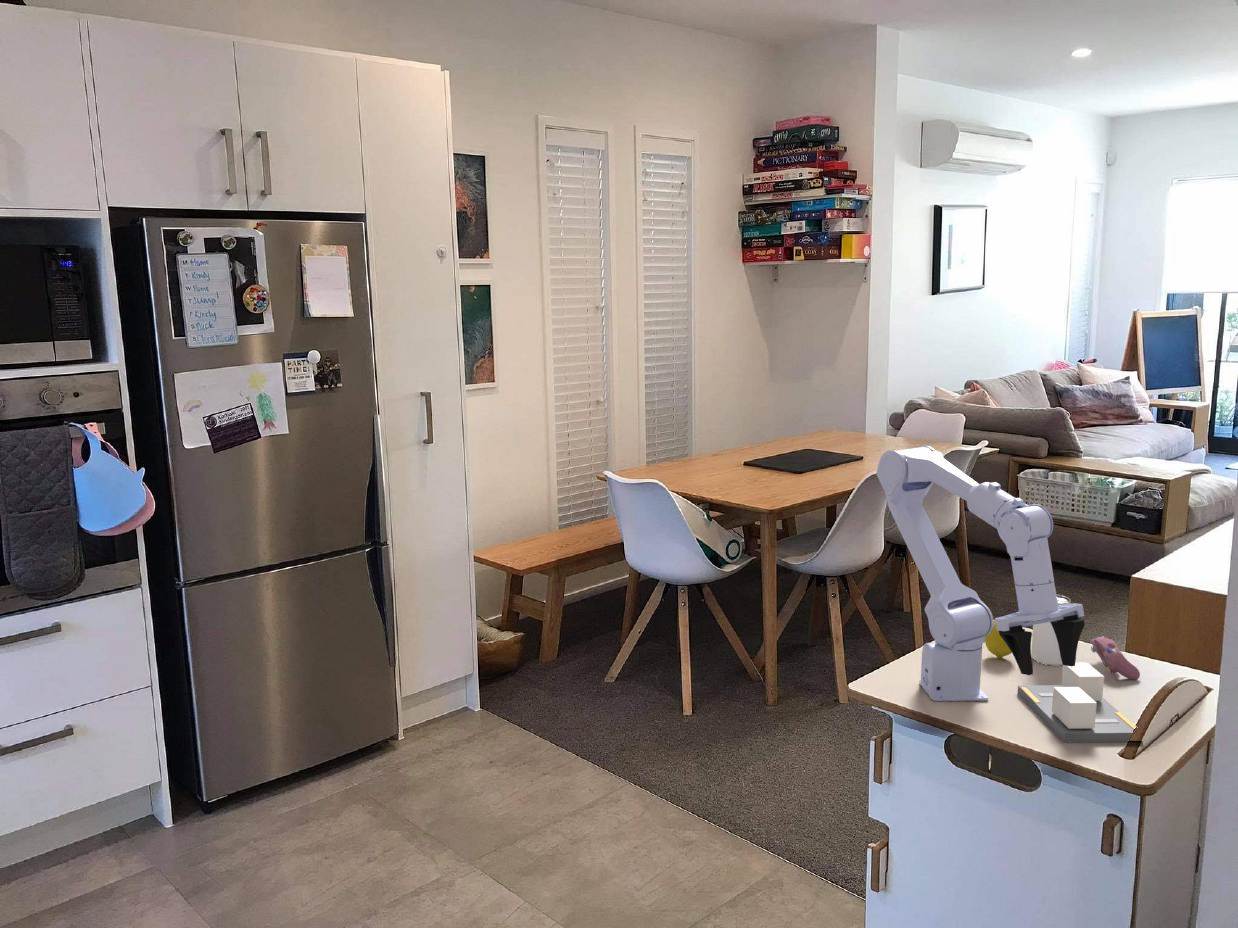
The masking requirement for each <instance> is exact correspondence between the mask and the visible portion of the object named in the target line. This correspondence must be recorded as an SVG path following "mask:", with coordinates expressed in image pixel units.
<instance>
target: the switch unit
mask: <svg viewBox="0 0 1238 928" xmlns="http://www.w3.org/2000/svg"><path fill="white" fill-rule="evenodd" d="M1054 687H1062V684H1059V685H1058V684H1053V685H1052V684H1050V685H1049V684H1048V685H1045V684H1044V685H1042V684H1041V685H1017V695H1018V696H1019V697H1020V698H1021V699H1022V700H1023V701H1024V702H1025V703H1026V704H1027V706H1028V707H1029V708H1030V709H1031V710H1032V711H1033V712H1034V713H1035V714H1036V715H1037V716H1038V717H1039V718H1040V719H1041V720H1042V721H1043V722H1044V723H1045V724H1046V726H1048V728H1050V729H1051V730H1052V732H1054V733H1055V735H1056V736H1057V737H1058V738H1060V740H1061V741H1062V742H1063V743H1129V742H1128V740H1129V739H1130V737H1131V735H1132V733H1133V729H1135V728H1136V727H1137V725H1135V724H1134V723H1133V722H1132V721H1130V720H1129V719H1128V718H1127V717H1126V716H1125V715H1123V713H1121V712H1120V711H1119V710H1117V708H1115V706H1113V705H1112V704H1111V703H1110V702H1108V701H1107V700H1106V698H1104V697H1103V696H1102V701H1095V702H1096V703H1097V706H1096V718H1095V728H1076V729H1069V728H1068V727H1067V726H1066V725H1065V724H1064V723H1063V722H1062V721H1061V720H1060V719H1059V718H1058V717H1057V716H1056V715H1055V714H1054V713H1053V712H1052V702H1053V689H1054Z"/></svg>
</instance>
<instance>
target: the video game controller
mask: <svg viewBox="0 0 1238 928" xmlns="http://www.w3.org/2000/svg"><path fill="white" fill-rule="evenodd" d="M1090 642H1091V645H1092V646H1090V650H1091V652H1092V653H1094V654H1095V653H1096V654H1097V655H1098V657H1099V658H1100V660H1101V661H1102V664H1103V665H1104V666H1105V668H1107V671H1109V672H1110V673H1111V674H1112V675H1116V674H1117V673H1118V674H1119V675H1121V676H1122V677H1125V678H1126V679H1128V680H1133V681H1136V680H1138V679H1140V678H1141V677H1140V676H1141V673H1140V670H1139V669H1138V668H1137V667H1136V666H1135V665H1134V664H1132V663H1131V662H1130V661H1129V660H1128V659H1127V658H1126V657H1125V656H1124V654H1123V652H1122V651H1121V650H1120V649H1119V648H1118V645H1117V643H1116V642H1115V641H1114V640H1113V639H1110V638H1107V637H1105V636H1104V635H1103V636H1101V637H1100V636H1097V637H1096V638H1093V639H1091V640H1090Z"/></svg>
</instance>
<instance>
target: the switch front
mask: <svg viewBox="0 0 1238 928" xmlns="http://www.w3.org/2000/svg"><path fill="white" fill-rule="evenodd" d="M1096 706H1097V703H1096V702H1095V701H1094V700H1093V699H1092V698H1091V697H1090V696H1088V695H1087V694H1086V693H1085V692H1084V691H1083V690H1082V689H1081V688H1079V687H1054V689H1053V702H1052V712H1053V713H1054V714H1055V715H1056V716H1057V717H1058V718H1059V719H1060V720H1061V721H1062V722H1063V723H1064V724H1065V725H1066V726H1067V727H1068V728H1069V729H1076V728H1095V718H1096Z"/></svg>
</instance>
